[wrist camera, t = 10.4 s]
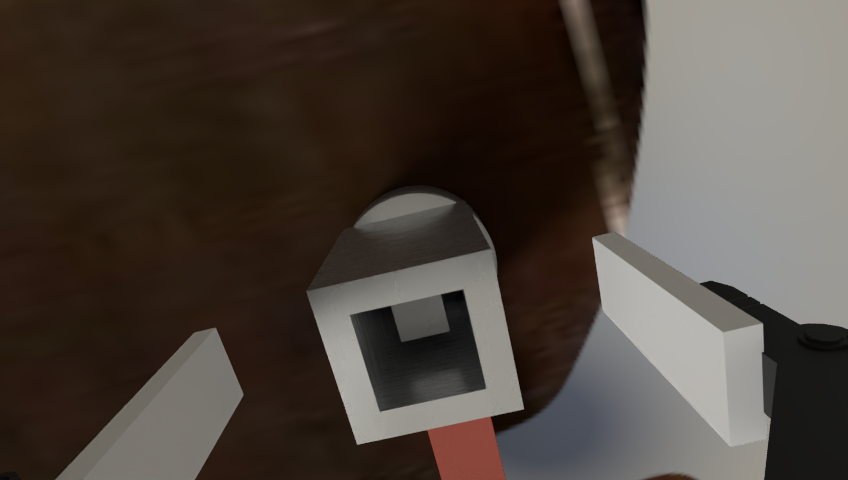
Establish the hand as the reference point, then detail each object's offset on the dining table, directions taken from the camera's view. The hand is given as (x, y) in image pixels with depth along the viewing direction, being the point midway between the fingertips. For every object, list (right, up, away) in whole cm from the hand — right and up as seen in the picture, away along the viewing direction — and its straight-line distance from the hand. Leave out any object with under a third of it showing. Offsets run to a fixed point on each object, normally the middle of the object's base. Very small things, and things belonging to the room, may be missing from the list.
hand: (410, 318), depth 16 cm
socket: (0, +1, +5) cm, 5 cm away
